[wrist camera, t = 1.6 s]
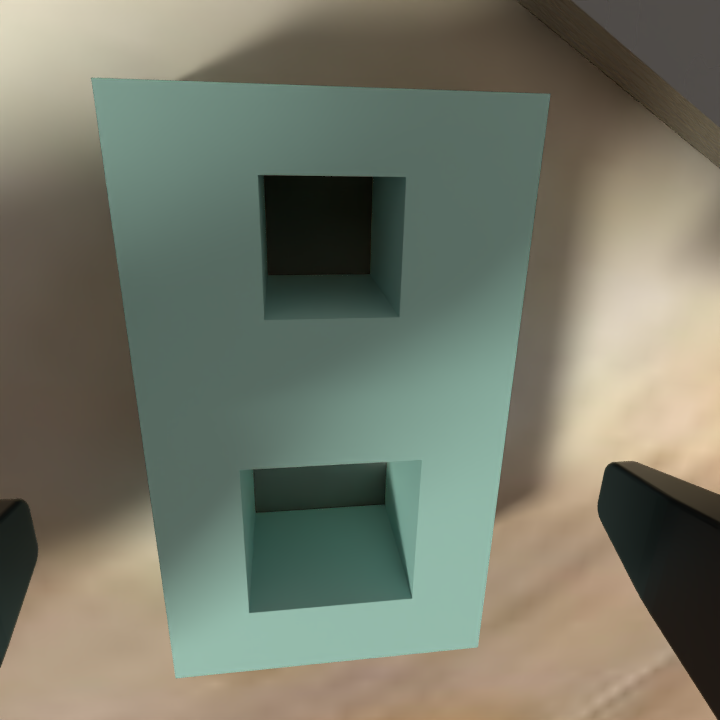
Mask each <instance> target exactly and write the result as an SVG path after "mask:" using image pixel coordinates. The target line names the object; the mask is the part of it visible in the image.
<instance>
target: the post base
mask: <svg viewBox="0 0 720 720" xmlns="http://www.w3.org/2000/svg"><path fill="white" fill-rule="evenodd" d="M517 1H518V2H519V3H520V4H522V5H523V6H524V7H525V8H526V9H528V10H529V11H530V12H531V13H533V14H534V15H535V16H536V17H537V18H539V19H540V20H541V21H542V22H543V23H545V24H546V25H547V26H548V27H549V28H551V29H552V30H553V31H554V32H556V33H557V34H558V35H559V36H560V37H562V38H563V39H564V40H565V41H566V42H568V43H569V44H570V45H571V46H572V47H574V48H575V49H576V50H577V51H578V52H580V53H581V54H582V55H583V56H585V57H586V58H587V59H588V60H589V61H591V62H592V63H593V64H594V65H595V66H597V67H598V68H599V69H600V70H601V71H603V72H604V73H605V74H606V75H607V76H609V77H610V78H611V79H612V80H614V81H615V82H616V83H617V84H618V85H620V86H621V87H622V88H623V89H624V90H626V91H627V92H628V93H629V94H630V95H632V96H633V97H634V98H635V99H637V100H638V101H639V102H640V103H641V104H643V105H644V106H645V107H646V108H647V109H649V110H650V111H651V112H652V113H653V114H655V115H656V116H657V117H658V118H659V119H661V120H662V121H663V122H664V123H666V124H667V125H668V126H669V127H670V128H672V129H673V130H674V131H675V132H676V133H678V134H679V135H680V136H681V137H682V138H684V139H685V140H686V141H687V142H688V143H690V144H691V145H692V146H693V147H695V148H696V149H697V150H698V151H699V152H701V153H702V154H703V155H704V156H705V157H707V158H708V159H709V160H710V161H711V162H713V163H714V164H715V165H716V166H718V167H719V168H720V0H517Z"/></svg>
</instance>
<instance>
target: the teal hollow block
mask: <svg viewBox="0 0 720 720" xmlns="http://www.w3.org/2000/svg"><path fill="white" fill-rule="evenodd" d="M91 80H92V87H93V94H94V101H95V108H96V115H97V122H98V129H99V137H100V144H101V151H102V158H103V165H104V172H105V179H106V186H107V193H108V201H109V208H110V215H111V222H112V229H113V236H114V243H115V250H116V257H117V265H118V272H119V279H120V286H121V293H122V300H123V307H124V314H125V321H126V328H127V336H128V343H129V350H130V357H131V364H132V371H133V378H134V385H135V392H136V400H137V407H138V414H139V421H140V428H141V435H142V442H143V449H144V456H145V464H146V471H147V478H148V485H149V492H150V499H151V506H152V513H153V520H154V528H155V535H156V542H157V549H158V556H159V563H160V570H161V577H162V584H163V591H164V599H165V606H166V613H167V620H168V627H169V634H170V641H171V648H172V655H173V663H174V670H175V677H176V678H184V677H193V676H203V675H213V674H222V673H232V672H242V671H252V670H261V669H271V668H281V667H290V666H300V665H310V664H320V663H329V662H339V661H349V660H358V659H368V658H378V657H388V656H397V655H407V654H417V653H427V652H436V651H446V650H456V649H465V648H475V647H478V641H479V633H480V626H481V618H482V611H483V603H484V596H485V588H486V580H487V573H488V565H489V558H490V550H491V542H492V535H493V527H494V520H495V512H496V504H497V497H498V489H499V482H500V474H501V467H502V459H503V451H504V444H505V436H506V429H507V421H508V413H509V406H510V398H511V391H512V383H513V375H514V368H515V360H516V353H517V345H518V337H519V330H520V322H521V315H522V307H523V300H524V292H525V284H526V277H527V269H528V262H529V254H530V246H531V239H532V231H533V224H534V216H535V208H536V201H537V193H538V186H539V178H540V171H541V163H542V155H543V148H544V140H545V133H546V125H547V117H548V110H549V102H550V95H551V94H542V93H514V92H485V91H457V90H428V89H399V88H371V87H342V86H314V85H285V84H257V83H228V82H199V81H171V80H142V79H114V78H91ZM264 175H300V176H373V187H372V224H371V261H370V274H343V275H268V264H267V239H266V215H265V191H264ZM377 462H387V467H386V490H385V504H383V505H368V506H353V507H338V508H323V509H307V510H292V511H277V512H262V513H256V511H255V494H254V477H253V469H269V468H287V467H305V466H323V465H341V464H359V463H377Z"/></svg>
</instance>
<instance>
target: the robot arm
mask: <svg viewBox="0 0 720 720" xmlns="http://www.w3.org/2000/svg"><path fill="white" fill-rule="evenodd" d="M598 514H599V518H600V520H601V522H602V524H603V526H604V528H605V530H606V532H607V534H608V536H609V538H610V540H611V542H612V544H613V546H614V548H615V550H616V552H617V554H618V556H619V557H620V559H621V561H622V563H623V565H624V567H625V569H626V571H627V573H628V575H629V577H630V579H631V581H632V583H633V585H634V587H635V589H636V591H637V592H638V594H639V596H640V598H641V600H642V601H643V603H644V605H645V606H646V608H647V610H648V611H649V613H650V615H651V616H652V618H653V619H654V621H655V622H656V624H657V626H658V627H659V629H660V630H661V632H662V633H663V635H664V637H665V638H666V640H667V641H668V643H669V644H670V646H671V648H672V649H673V651H674V652H675V654H676V655H677V657H678V659H679V660H680V662H681V663H682V665H683V666H684V668H685V669H686V671H687V673H688V674H689V676H690V677H691V679H692V680H693V682H694V684H695V685H696V687H697V688H698V690H699V691H700V693H701V695H702V696H703V698H704V699H705V701H706V702H707V704H708V706H709V707H710V709H711V710H712V712H713V713H714V715H715V716H716V718H717V720H720V495H719V494H717V493H714V492H712V491H709V490H707V489H704V488H701V487H699V486H696V485H694V484H691V483H689V482H686V481H684V480H681V479H678V478H676V477H673V476H671V475H668V474H666V473H663V472H661V471H658V470H655V469H653V468H650V467H648V466H645V465H643V464H640V463H638V462H634V461H623V462H612V463H610V464H608V465H607V467H606V468H605V471H604V476H603V480H602V485H601V490H600V495H599V499H598ZM37 557H38V543H37V539H36V534H35V530H34V526H33V522H32V517H31V513H30V509H29V506H28V504H27V502H26V501H24V500H23V499H20V498H17V499H0V667H1V665H2V662H3V660H4V657H5V654H6V651H7V649H8V646H9V643H10V640H11V637H12V634H13V631H14V628H15V625H16V622H17V619H18V616H19V613H20V610H21V607H22V604H23V601H24V598H25V595H26V592H27V589H28V586H29V583H30V580H31V577H32V574H33V571H34V568H35V565H36V562H37Z"/></svg>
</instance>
